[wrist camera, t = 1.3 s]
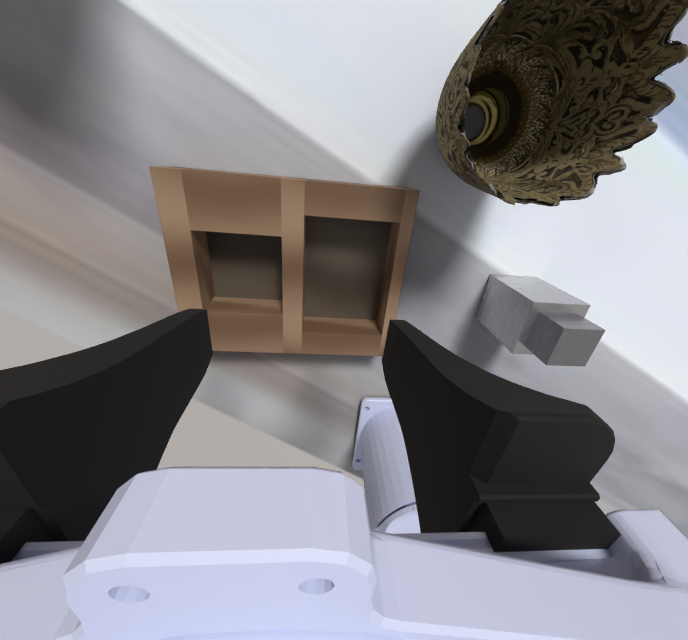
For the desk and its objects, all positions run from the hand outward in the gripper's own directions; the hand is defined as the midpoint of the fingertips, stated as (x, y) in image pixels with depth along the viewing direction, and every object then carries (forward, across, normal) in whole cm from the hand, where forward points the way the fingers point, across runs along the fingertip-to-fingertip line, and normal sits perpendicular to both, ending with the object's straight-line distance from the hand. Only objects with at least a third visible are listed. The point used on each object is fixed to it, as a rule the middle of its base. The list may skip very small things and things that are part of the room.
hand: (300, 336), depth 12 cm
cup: (+10, -9, -9) cm, 16 cm away
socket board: (+10, +1, 0) cm, 10 cm away
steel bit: (+10, -15, +1) cm, 18 cm away
